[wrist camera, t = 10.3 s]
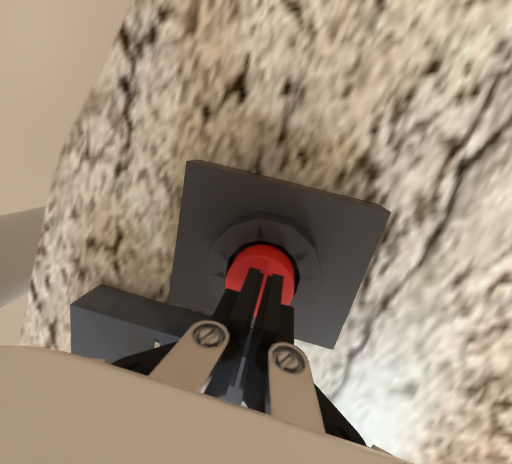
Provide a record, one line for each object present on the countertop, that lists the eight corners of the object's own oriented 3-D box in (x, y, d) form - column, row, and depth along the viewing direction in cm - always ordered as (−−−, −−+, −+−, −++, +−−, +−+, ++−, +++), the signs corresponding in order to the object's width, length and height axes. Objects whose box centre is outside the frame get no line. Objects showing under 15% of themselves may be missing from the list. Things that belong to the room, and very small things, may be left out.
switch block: (181, 286, 20) (154, 317, 16) (199, 159, 17) (172, 161, 13) (328, 328, 19) (337, 372, 15) (378, 204, 16) (405, 220, 12)
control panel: (98, 371, 24) (70, 402, 21) (100, 284, 21) (67, 305, 18) (235, 415, 23) (227, 453, 20) (260, 330, 20) (254, 362, 17)
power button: (227, 290, 15) (219, 307, 14) (239, 236, 14) (232, 247, 12) (284, 306, 15) (283, 326, 13) (301, 253, 14) (302, 266, 12)
